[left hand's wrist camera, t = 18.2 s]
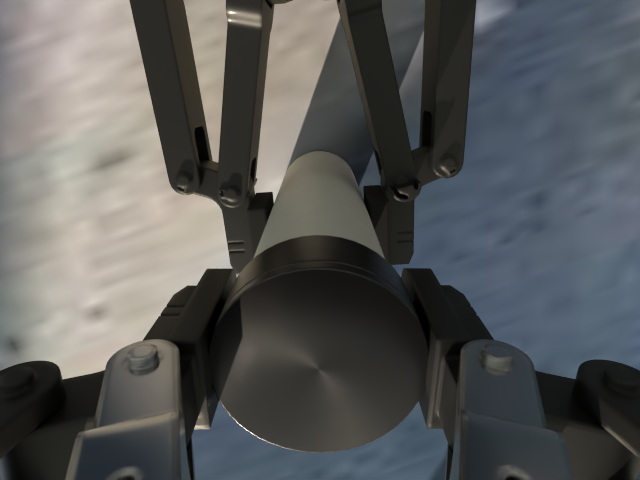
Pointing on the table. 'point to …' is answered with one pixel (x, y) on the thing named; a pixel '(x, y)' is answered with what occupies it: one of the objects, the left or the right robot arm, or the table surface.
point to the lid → (318, 346)
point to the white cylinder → (319, 204)
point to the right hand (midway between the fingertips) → (326, 325)
